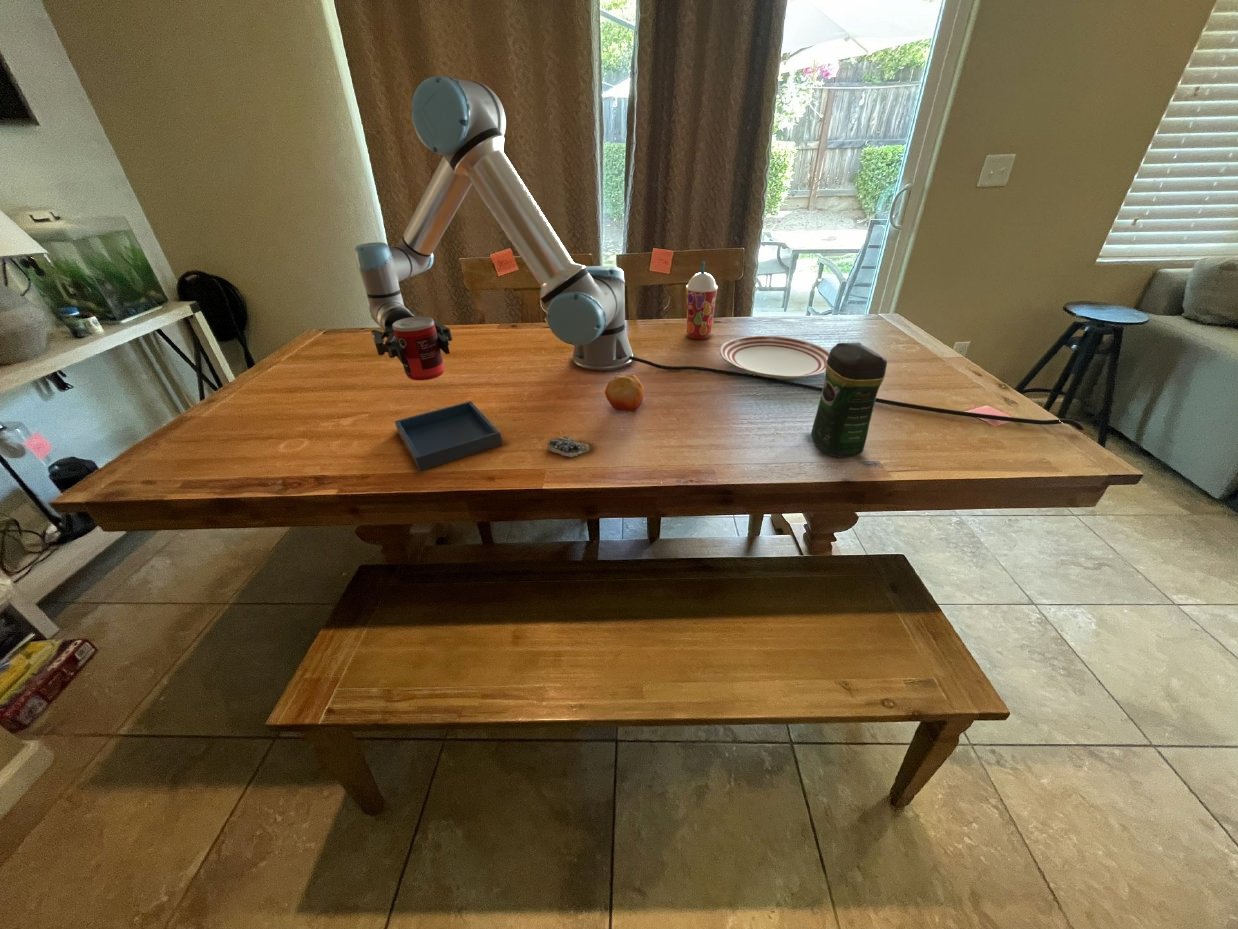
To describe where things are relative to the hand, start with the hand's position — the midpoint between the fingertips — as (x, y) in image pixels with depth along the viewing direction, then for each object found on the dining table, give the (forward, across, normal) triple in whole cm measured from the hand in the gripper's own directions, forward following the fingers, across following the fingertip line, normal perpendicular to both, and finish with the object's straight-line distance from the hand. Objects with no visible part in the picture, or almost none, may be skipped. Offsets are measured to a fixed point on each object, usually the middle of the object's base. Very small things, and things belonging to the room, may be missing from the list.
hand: (425, 352), depth 99 cm
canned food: (-5, 0, -6) cm, 8 cm away
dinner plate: (+23, -76, -14) cm, 81 cm away
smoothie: (-5, -75, -14) cm, 77 cm away
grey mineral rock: (+28, -16, -14) cm, 35 cm away
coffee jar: (+56, -57, -14) cm, 81 cm away
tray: (+12, +2, -14) cm, 18 cm away
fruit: (+21, -33, -14) cm, 42 cm away
